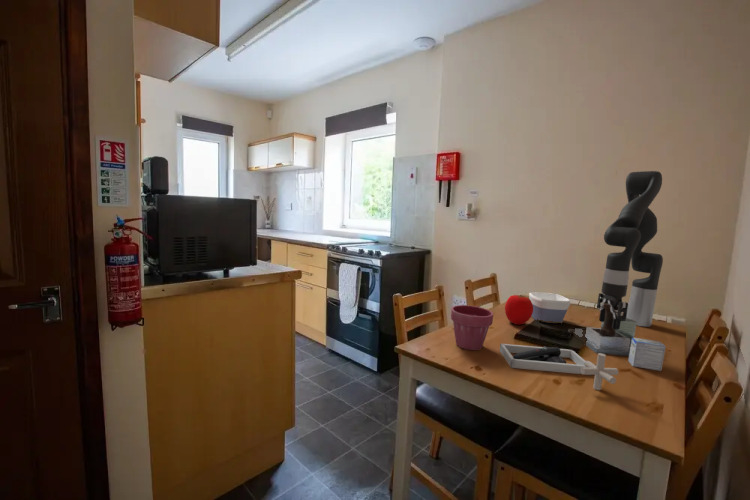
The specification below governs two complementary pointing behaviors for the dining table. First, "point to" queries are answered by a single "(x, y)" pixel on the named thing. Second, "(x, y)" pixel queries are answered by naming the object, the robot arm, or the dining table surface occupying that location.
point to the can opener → (541, 355)
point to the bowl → (549, 306)
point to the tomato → (518, 309)
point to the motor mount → (610, 338)
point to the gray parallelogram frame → (542, 365)
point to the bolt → (608, 322)
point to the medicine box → (646, 354)
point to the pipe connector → (599, 371)
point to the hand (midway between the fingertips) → (608, 325)
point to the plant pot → (471, 325)
